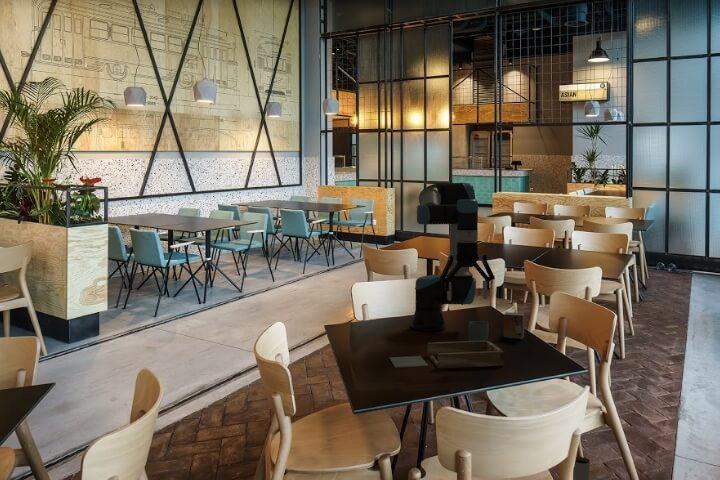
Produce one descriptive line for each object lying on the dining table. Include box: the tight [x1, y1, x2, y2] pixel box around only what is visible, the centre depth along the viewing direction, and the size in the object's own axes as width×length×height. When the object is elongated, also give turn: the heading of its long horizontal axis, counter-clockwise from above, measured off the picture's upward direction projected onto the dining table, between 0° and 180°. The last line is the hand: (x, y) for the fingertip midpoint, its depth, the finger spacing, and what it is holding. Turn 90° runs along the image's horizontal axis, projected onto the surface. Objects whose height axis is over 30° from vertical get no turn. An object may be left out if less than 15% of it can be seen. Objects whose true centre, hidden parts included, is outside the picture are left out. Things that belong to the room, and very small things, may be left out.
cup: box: [468, 320, 490, 341], centre depth 237 cm, size 8×8×10 cm
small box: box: [503, 311, 526, 340], centre depth 252 cm, size 8×6×10 cm
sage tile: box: [389, 355, 429, 369], centre depth 218 cm, size 12×12×1 cm
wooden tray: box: [426, 339, 505, 369], centre depth 219 cm, size 17×24×5 cm
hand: (467, 299), depth 218 cm, fingers open, 13 cm apart
